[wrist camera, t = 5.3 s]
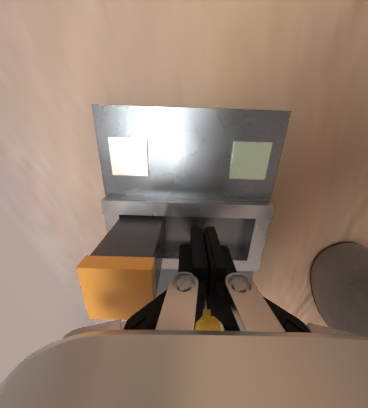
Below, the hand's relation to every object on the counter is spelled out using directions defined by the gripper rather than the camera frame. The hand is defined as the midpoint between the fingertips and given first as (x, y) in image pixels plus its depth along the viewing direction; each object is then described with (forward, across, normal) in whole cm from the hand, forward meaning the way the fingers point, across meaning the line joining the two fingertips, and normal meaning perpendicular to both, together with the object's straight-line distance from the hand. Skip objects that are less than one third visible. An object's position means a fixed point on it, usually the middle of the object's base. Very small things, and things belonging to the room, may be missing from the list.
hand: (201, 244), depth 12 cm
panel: (+3, +1, 0) cm, 3 cm away
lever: (+2, +4, 0) cm, 4 cm away
